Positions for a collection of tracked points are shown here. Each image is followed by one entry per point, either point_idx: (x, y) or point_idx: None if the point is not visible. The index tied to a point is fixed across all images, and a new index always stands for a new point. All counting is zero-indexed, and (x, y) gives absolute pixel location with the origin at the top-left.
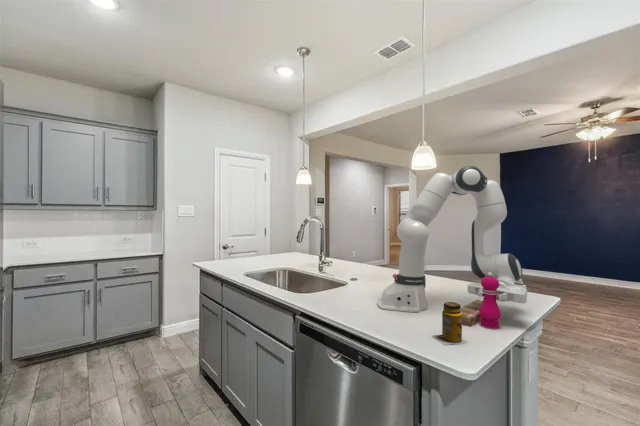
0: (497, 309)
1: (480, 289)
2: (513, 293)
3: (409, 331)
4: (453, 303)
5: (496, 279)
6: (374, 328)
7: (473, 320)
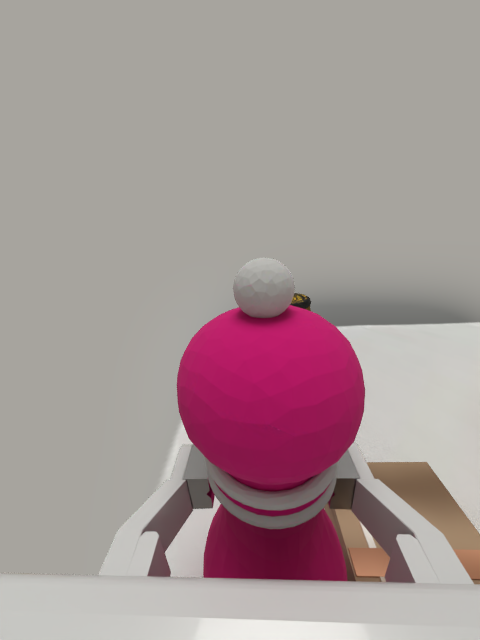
0: (216, 513)
1: (417, 525)
2: (25, 576)
3: (368, 356)
4: (291, 301)
5: (195, 334)
6: (408, 335)
7: (330, 510)
